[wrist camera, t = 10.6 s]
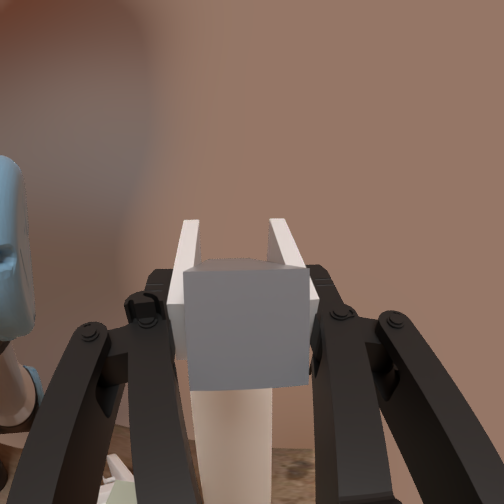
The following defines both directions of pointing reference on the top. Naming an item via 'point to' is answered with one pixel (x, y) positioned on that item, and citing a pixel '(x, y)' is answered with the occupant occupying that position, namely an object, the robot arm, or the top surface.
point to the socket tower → (234, 445)
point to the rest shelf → (122, 493)
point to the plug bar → (246, 324)
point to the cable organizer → (113, 477)
